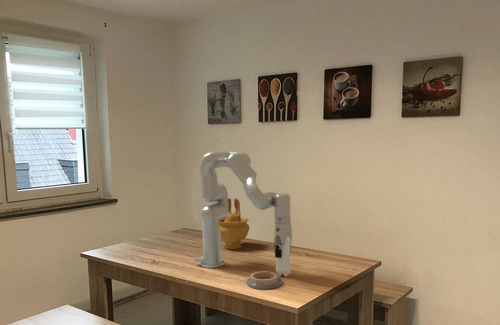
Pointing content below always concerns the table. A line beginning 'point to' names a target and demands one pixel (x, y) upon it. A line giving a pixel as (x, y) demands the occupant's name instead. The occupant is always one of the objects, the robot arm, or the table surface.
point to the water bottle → (284, 260)
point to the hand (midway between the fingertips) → (283, 254)
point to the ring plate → (264, 280)
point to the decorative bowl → (233, 227)
